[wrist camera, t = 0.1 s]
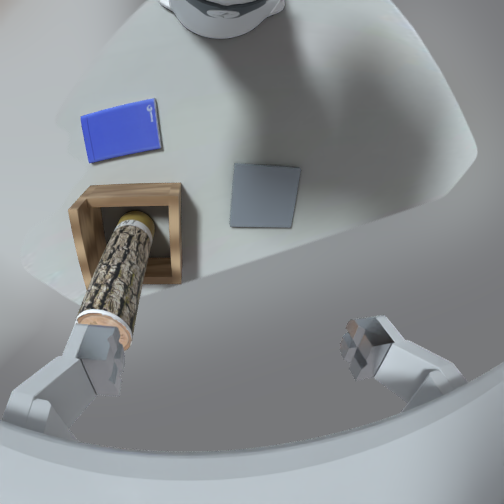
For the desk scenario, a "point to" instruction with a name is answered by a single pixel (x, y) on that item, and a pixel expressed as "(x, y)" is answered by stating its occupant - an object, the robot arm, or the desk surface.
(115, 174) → the desk surface
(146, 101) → the hard drive
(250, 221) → the slate pad
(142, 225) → the wooden log
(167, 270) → the frame
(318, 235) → the desk surface
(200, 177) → the desk surface
